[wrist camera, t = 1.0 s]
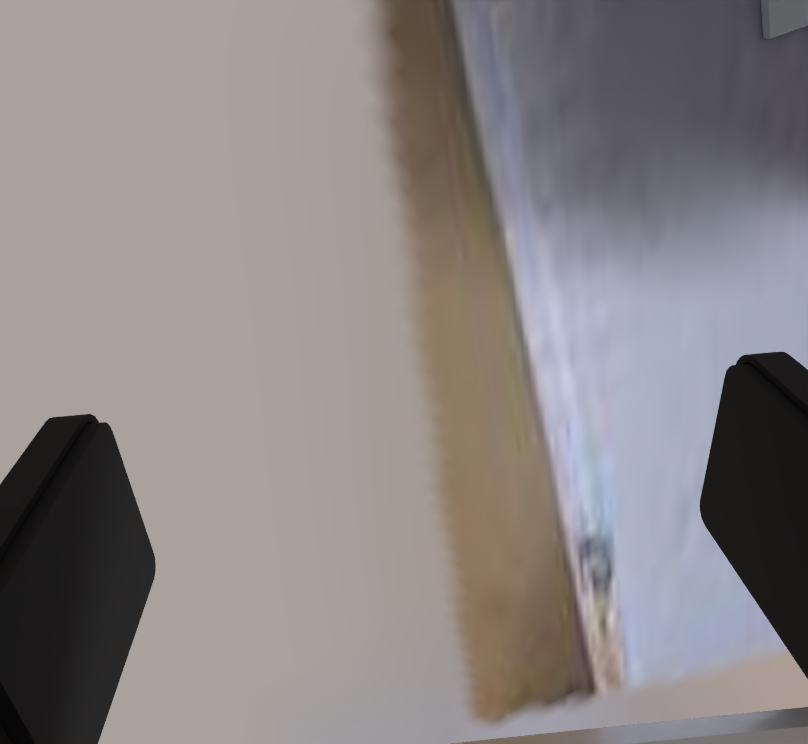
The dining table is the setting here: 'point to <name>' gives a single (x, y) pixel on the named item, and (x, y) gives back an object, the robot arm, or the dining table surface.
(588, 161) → the dining table surface
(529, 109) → the dining table surface
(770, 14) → the mat
